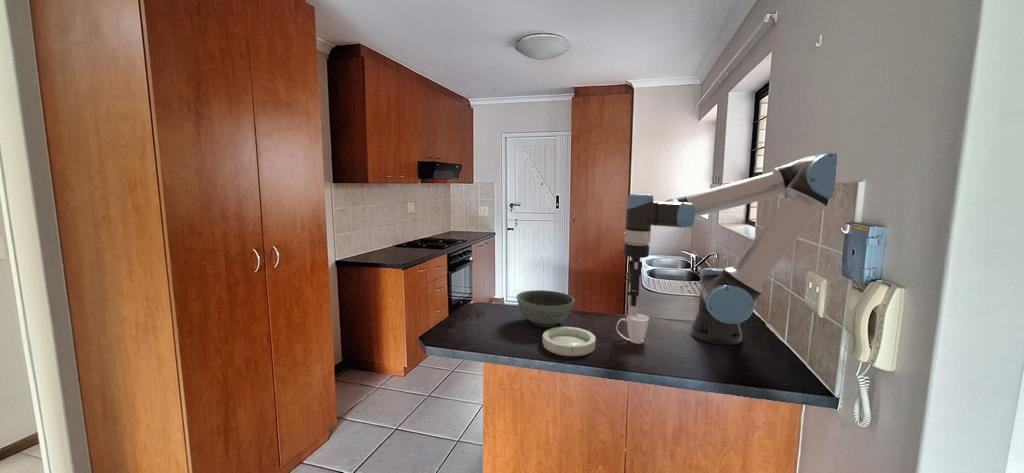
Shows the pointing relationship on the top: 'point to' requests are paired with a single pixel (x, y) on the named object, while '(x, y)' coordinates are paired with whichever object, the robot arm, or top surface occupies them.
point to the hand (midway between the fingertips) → (632, 309)
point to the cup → (635, 327)
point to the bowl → (545, 306)
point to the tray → (569, 341)
